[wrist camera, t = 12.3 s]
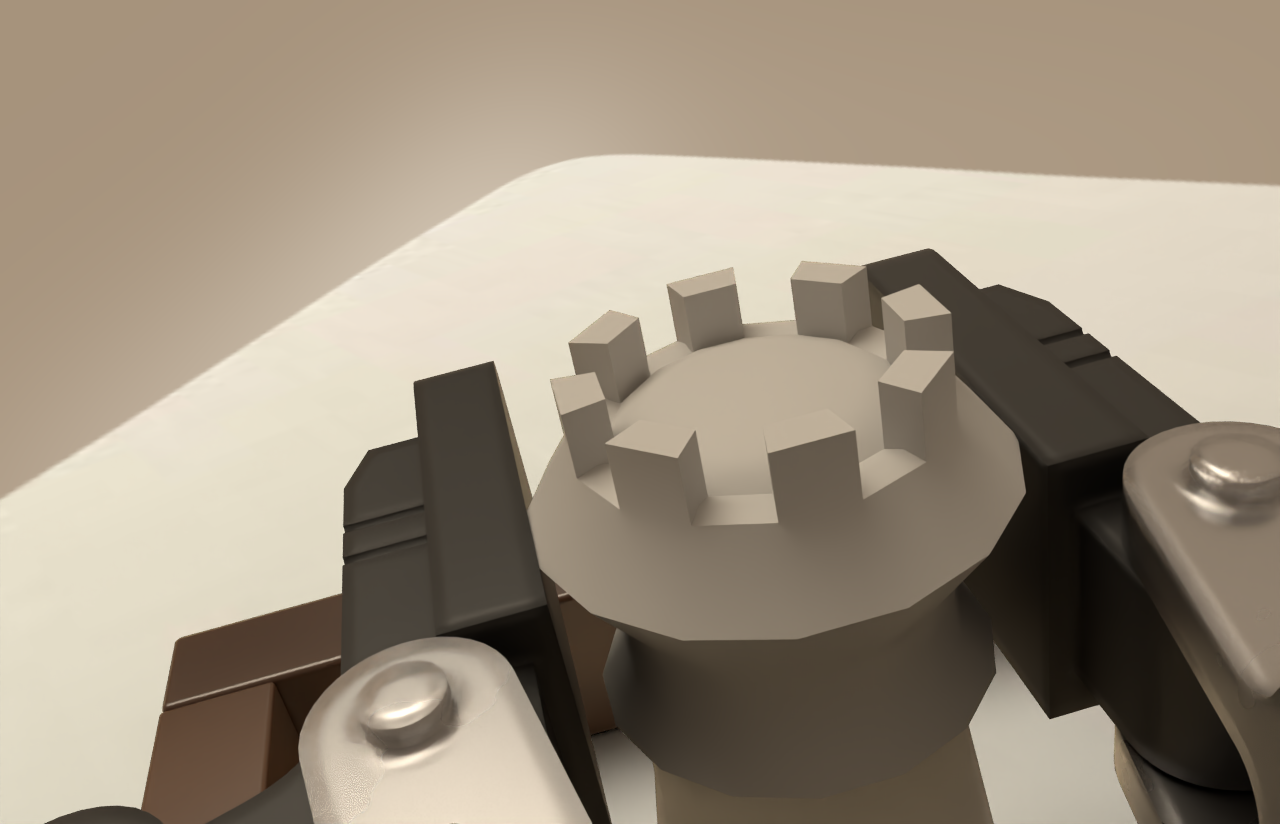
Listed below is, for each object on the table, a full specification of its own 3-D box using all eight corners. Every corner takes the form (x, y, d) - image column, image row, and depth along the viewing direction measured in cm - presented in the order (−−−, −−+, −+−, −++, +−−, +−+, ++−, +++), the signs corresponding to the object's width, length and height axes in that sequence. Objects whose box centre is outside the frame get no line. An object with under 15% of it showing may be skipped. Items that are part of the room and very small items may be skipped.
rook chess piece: (817, 822, 14) (716, 179, 10) (1202, 1049, 11) (1268, 260, 7) (538, 1122, 12) (263, 427, 8) (935, 1518, 9) (815, 706, 5)
